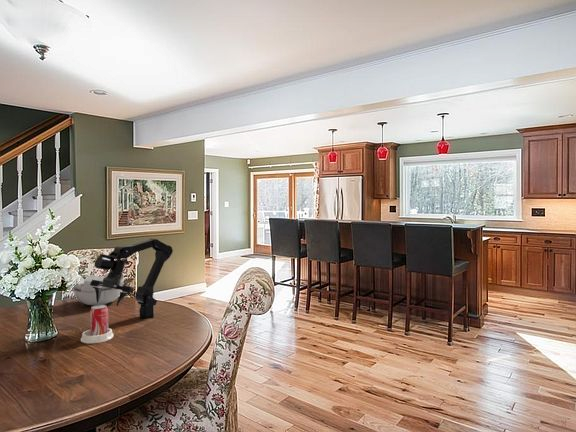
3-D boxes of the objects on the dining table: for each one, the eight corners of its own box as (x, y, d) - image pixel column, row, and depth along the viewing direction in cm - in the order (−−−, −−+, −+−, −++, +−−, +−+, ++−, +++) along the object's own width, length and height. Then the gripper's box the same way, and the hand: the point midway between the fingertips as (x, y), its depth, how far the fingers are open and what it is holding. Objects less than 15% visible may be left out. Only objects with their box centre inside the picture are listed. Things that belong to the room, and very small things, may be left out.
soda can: (109, 332, 182) (108, 303, 182) (107, 337, 175) (107, 307, 175) (91, 333, 180) (91, 305, 179) (89, 339, 173) (89, 309, 172)
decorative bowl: (72, 300, 243) (71, 275, 242) (125, 295, 253) (124, 272, 253) (63, 313, 215) (62, 285, 214) (123, 307, 225) (123, 281, 224)
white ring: (115, 332, 184) (115, 326, 184) (111, 341, 172) (111, 335, 172) (84, 334, 181) (84, 328, 181) (77, 344, 168) (77, 338, 168)
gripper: (90, 267, 185) (80, 301, 182) (130, 274, 186) (121, 308, 183) (99, 268, 196) (89, 300, 193) (137, 275, 197) (128, 308, 194)
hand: (107, 304), depth 190 cm, fingers open, 9 cm apart
